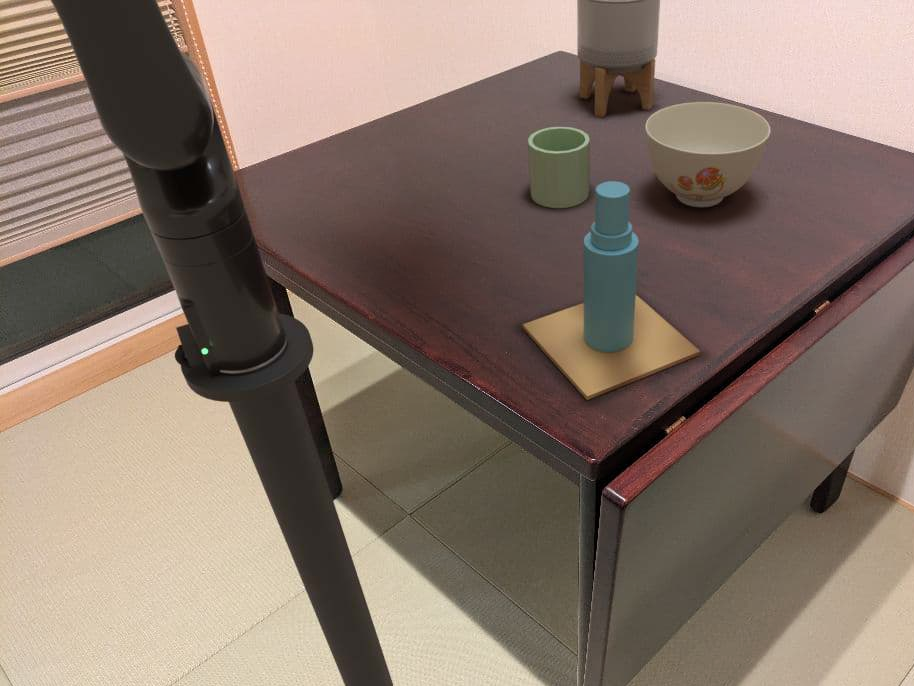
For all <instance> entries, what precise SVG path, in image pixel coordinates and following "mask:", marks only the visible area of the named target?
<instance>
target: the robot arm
mask: <svg viewBox="0 0 914 686" xmlns="http://www.w3.org/2000/svg"><path fill="white" fill-rule="evenodd" d="M50 2H51V4H52V6H53V8H54V10H55V12H56V14H57V16H58V19H59V20H60V22H61V24H62V27H63V29H64V31H65V34H66V36H67V39H68V41H69V43H70V46H71V48H72V50H73V54H74V56H75V59H76V61H77V63H78V65H79V68H80V71H81V73H82V76H83V78H84V81H85V84H86V86H87V89H88V93H89V95H90V97H91V100H92V103H93V105H94V109H95V111H96V114H97V118H98V119H99V123H100V124H101V125H100V126H101V128H102V130H103V131H104V133H105V135H106V137H107V138H108V139H109V141H110V142H111V143H112V145H113V146H114V147H116V148H117V150H119V151H120V152H121V153H122V155H123V157H124V160H125V163H126V165H127V168H128V171H129V174H130V176H131V180H132V183H133V185H134V186H133V187H134V190H135V192H136V196H137V201H138V204H139V207H140V210H141V212H142V215H143V217H144V219H145V221H146V224H147V226H148V229H149V230H150V233H151V235H152V238H153V240H154V242H155V245H156V247H157V250H158V252H159V254H160V257H161V260H162V262H163V264H164V267H165V269H166V272H167V274H168V276H169V278H170V281H171V284H172V286H173V288H174V291H175V293H176V296H177V299H178V301H179V304H180V307H181V310H182V312H183V314H184V316H185V319H186V321H187V324H186V323H185V324H184V325H180V326H177V327H175V329H176V332H177V336H178V339H179V341H180V344H179V345H178V347H177V348H176V350H175V352H174V359H175V361H176V363H178V365H180V366H181V365H182V366H184V367H186V368H188V369H190V368H191V367H192V366H195V365H198V364H201V363H205V365H206V367H207V369H208V372H209V374H210V377H216V376H220V375H226V376H240V375H247V374H251V373H254V372H257V371H260V370H263V369H265V368H267V367H269V366H270V365H272V364H273V363H275V362H276V361H277V360H279V359H280V358H281V357H282V355H283V354H284V353H285V351H286V349H287V346H288V338H287V335H286V332H285V331H284V327H283V324H282V322H281V319H280V316H279V309H278V307H277V304H276V301H275V298H274V294H273V291H272V288H271V285H270V281H269V279H268V275H267V272H266V269H265V266H264V263H263V260H262V257H261V253H260V251H259V247H258V244H257V241H256V238H255V235H254V231H253V228H252V225H251V223H250V219H249V216H248V213H247V210H246V207H245V204H244V200H243V197H242V194H241V191H240V187H239V184H238V180H237V177H236V174H235V171H234V167H233V164H232V161H231V158H230V154H229V152H228V149H227V146H226V143H225V140H224V136H223V133H222V129H221V127H220V124H219V120H218V117H217V114H216V110H215V108H214V104H213V101H212V98H211V95H210V92H209V89H208V86H207V83H206V80H205V78H204V76H203V74H202V72H201V71H200V69H199V68H198V66H197V65H196V63H195V62H194V61H193V60H192V58H190V57H189V56H188V55H187V54H186V53H185V52H184V51H183V50H181V49H180V47H179V46H178V42H177V41H176V40H175V38H174V35H173V33H172V31H171V29H170V27H169V25H168V23H167V21H166V19H165V17H164V15H163V12H162V10H161V8H160V5H159V4H158V3H159V2H158V1H157V0H50ZM184 355H186V357H187V358H186V357H185V356H184Z"/></svg>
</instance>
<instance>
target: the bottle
mask: <svg viewBox="0 0 914 686" xmlns="http://www.w3.org/2000/svg"><path fill="white" fill-rule="evenodd" d="M630 193H631V189H630V187H629V185H628V184H626V183H624V182H621V181H614V180H613V181H612V180H611V181H604V182H602V183H599V184H598V185H596V187H595V201H594V202H595V205H594V206H595V208H594V209H595V211H594V222H592V223H591V226H590V231H589V232H587V233H586V234H585V236H584V239H583V303H584V340H585V342H586V344H587V345H588V346H590V347H591V348H593V349H595V350H598V351H602V352H616V351H620V350H623V349H625V348H627V347H628V346H629V345H630V344H631V343H632V341H633V335H634V317H635V299H636V295H637V281H638V264H639V263H638V261H639V245H640V242H639V241H640V240H639V237H638V235H637V234H636V233H635V232H633V225H632V223H631V222H630V221H629V217H630V195H631V194H630Z"/></svg>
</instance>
